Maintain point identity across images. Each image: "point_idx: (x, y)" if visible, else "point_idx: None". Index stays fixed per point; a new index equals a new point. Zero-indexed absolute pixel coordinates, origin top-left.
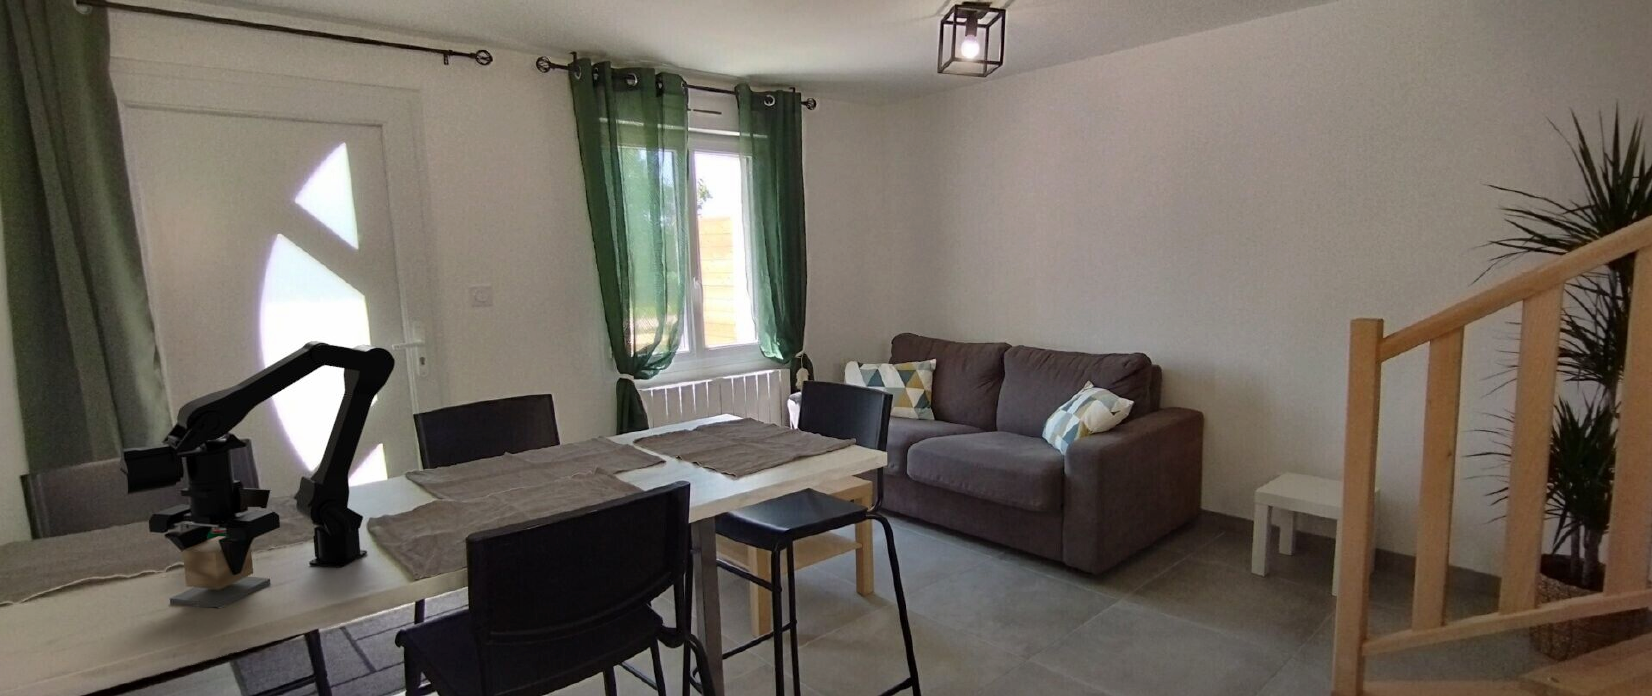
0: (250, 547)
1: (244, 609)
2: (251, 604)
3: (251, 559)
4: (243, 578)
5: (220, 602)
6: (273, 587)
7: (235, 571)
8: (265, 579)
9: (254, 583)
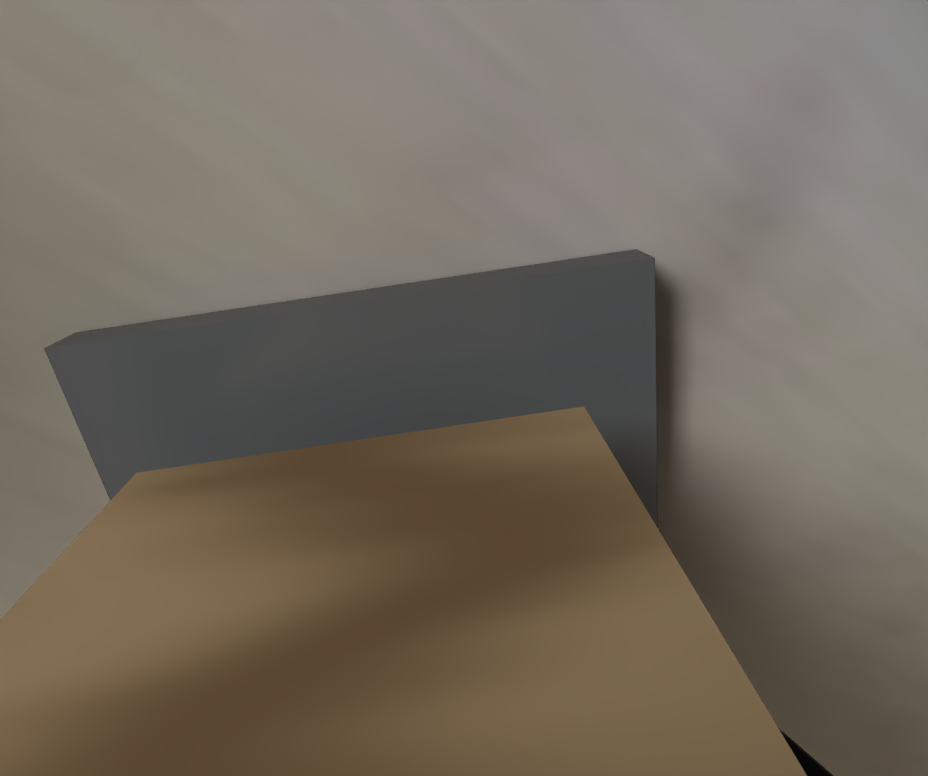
0: (770, 723)
1: (831, 620)
2: (819, 564)
3: (645, 520)
4: (376, 353)
5: None
6: (744, 305)
7: None
8: (624, 289)
9: (600, 392)
